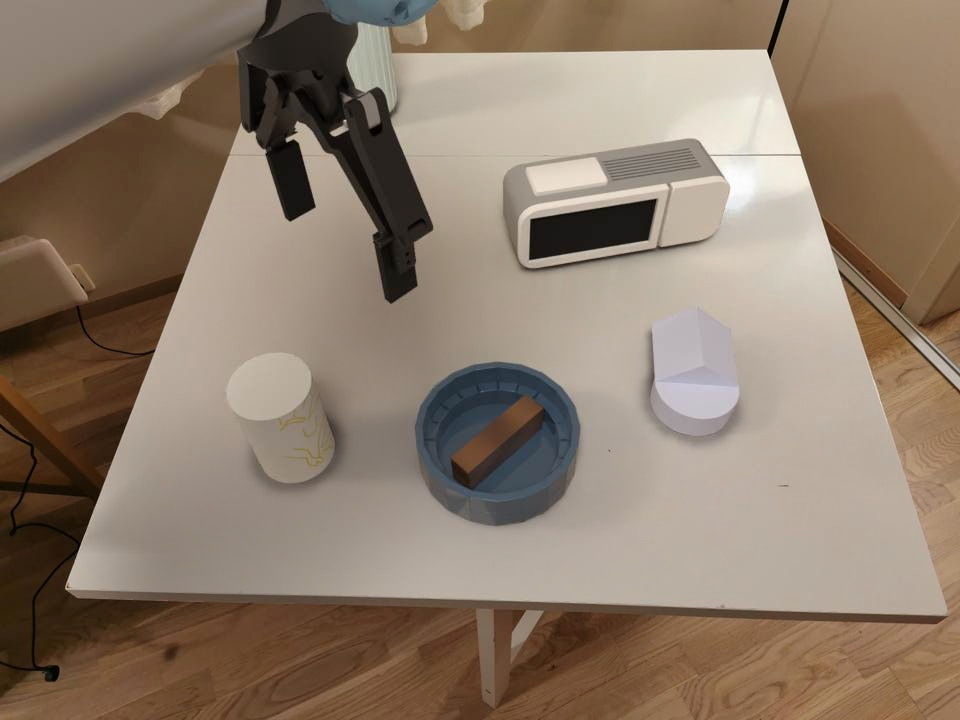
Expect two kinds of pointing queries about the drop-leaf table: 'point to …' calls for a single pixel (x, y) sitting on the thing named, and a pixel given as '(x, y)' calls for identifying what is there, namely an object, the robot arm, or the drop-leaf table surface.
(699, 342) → the wedge on round base
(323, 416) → the white patterned canister
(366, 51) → the vase
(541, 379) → the bowl
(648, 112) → the drop-leaf table surface
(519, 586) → the drop-leaf table surface
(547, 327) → the drop-leaf table surface
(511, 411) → the stick
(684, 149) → the alarm clock
